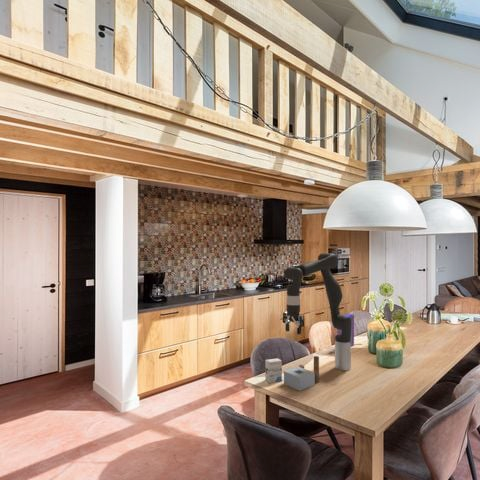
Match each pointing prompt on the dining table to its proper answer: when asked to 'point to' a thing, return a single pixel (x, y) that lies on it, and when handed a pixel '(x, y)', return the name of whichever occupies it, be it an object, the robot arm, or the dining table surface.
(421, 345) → the dining table surface
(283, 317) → the robot arm
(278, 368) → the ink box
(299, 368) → the hole block
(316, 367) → the long pin
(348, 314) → the cereal box
